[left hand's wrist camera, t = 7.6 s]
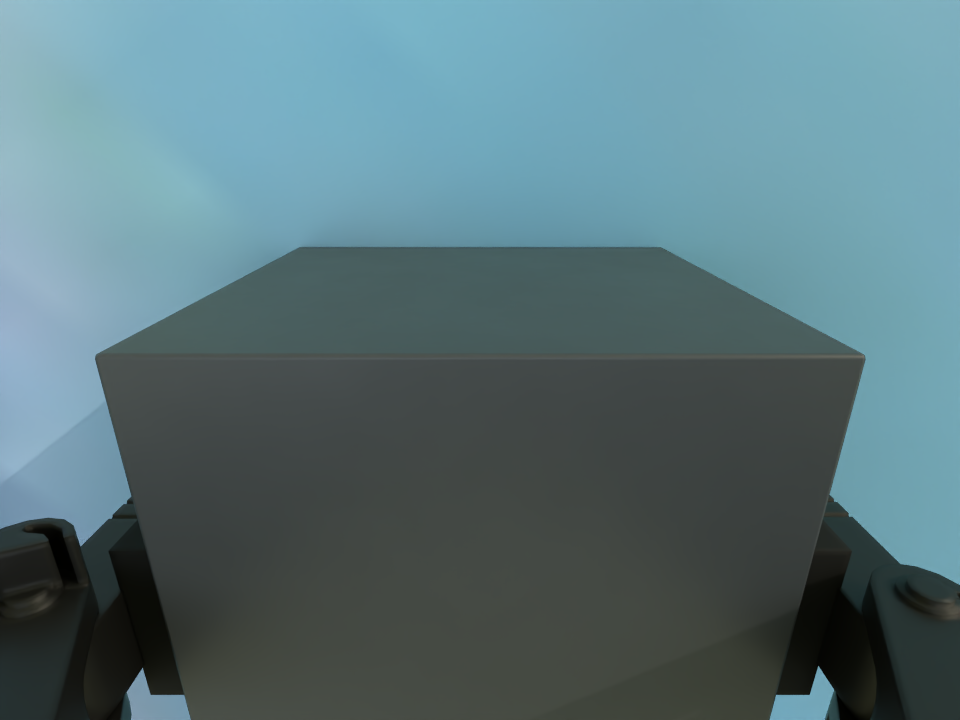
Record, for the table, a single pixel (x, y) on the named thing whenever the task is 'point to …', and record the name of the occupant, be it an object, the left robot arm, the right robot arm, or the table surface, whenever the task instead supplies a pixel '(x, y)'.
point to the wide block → (480, 484)
